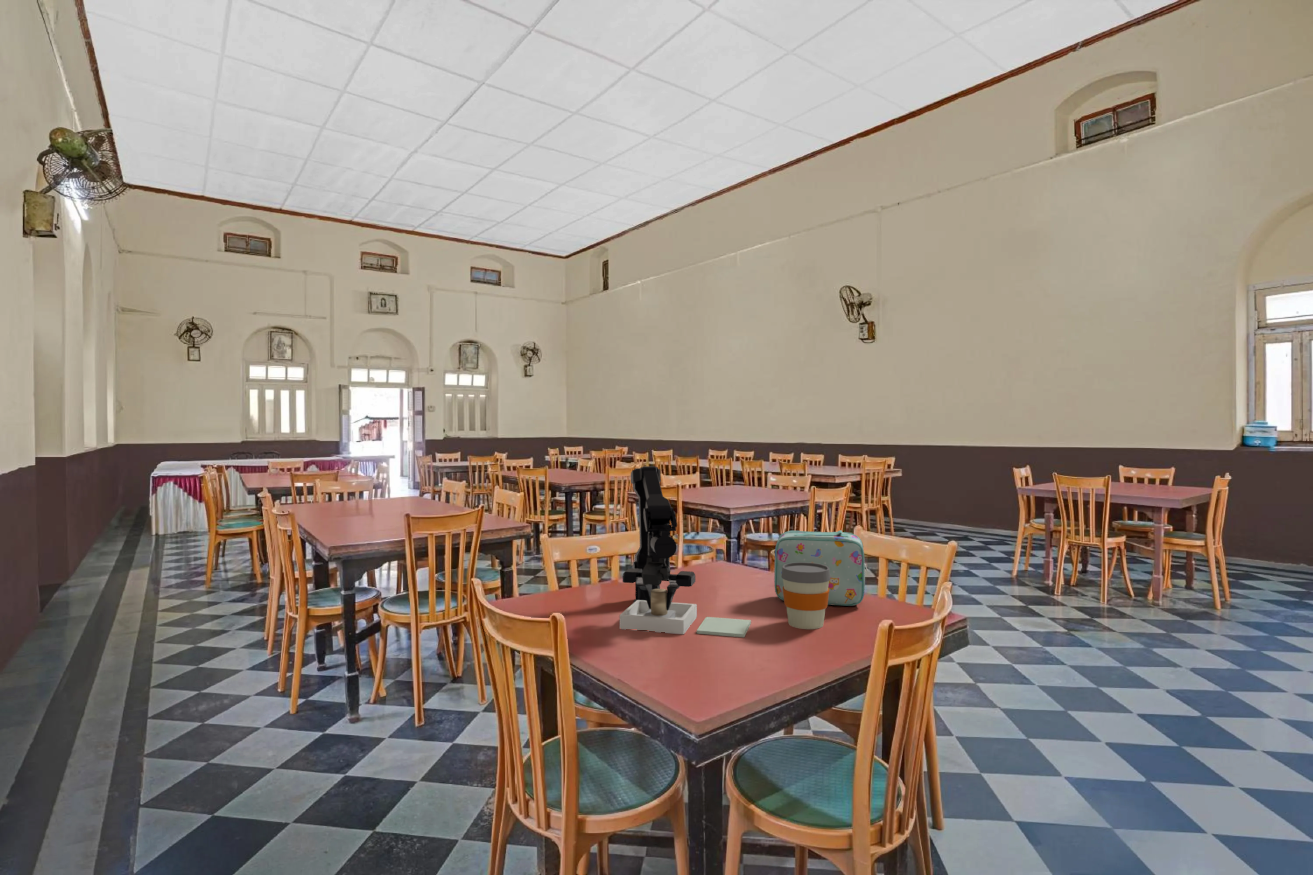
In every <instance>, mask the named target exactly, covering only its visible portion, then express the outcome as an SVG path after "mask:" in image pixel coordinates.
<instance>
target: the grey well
mask: <svg viewBox="0 0 1313 875" xmlns="http://www.w3.org/2000/svg"><path fill="white" fill-rule="evenodd" d="M697 606H698V605H697V603H686V602H673V601H672V602H671V605H670V608H669V610H668V613H667V614H666V615H662V616H656V615H652V614H651V609H649V606H648V604H647V601H645V600H637V601H635V602H634V601H633V602H632V604H631V605H630V606H629V607H626V609H625V610H624V611H622V612H621V613H620V614H619V629H620V628H621V629H620V630H626V629H637V630H649V631H655V632H654V633H661V632H665V633H664V634H674V635H684V634H685V633H686V632H687V631H688V629H689V628H690V627H691V626H692V624H693V623H694V622H695V620H696V619H697V618H698V612H697V611H698V610H697V608H698V607H697ZM690 625H691V626H690ZM637 630H636V631H637ZM649 631H648V632H649Z"/></svg>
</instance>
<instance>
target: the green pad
mask: <svg viewBox="0 0 1313 875" xmlns="http://www.w3.org/2000/svg"><path fill="white" fill-rule="evenodd" d="M751 623H752V620H751V619H741V618H740V619H739V618H728V617H717V616H716V617H715V616H706V617H705V618H704V620H703V621H702V622H701V624H700V625H699V627H698V628H697V629H696V634H700V635H711V636H721V637H722V636H723V637H733V638H734V637H735V638H745V637H746V634H747V632H748V631H749V628H750V626H751Z"/></svg>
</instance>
